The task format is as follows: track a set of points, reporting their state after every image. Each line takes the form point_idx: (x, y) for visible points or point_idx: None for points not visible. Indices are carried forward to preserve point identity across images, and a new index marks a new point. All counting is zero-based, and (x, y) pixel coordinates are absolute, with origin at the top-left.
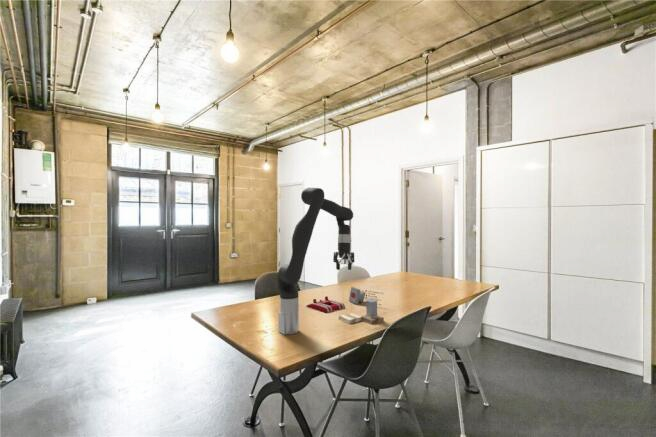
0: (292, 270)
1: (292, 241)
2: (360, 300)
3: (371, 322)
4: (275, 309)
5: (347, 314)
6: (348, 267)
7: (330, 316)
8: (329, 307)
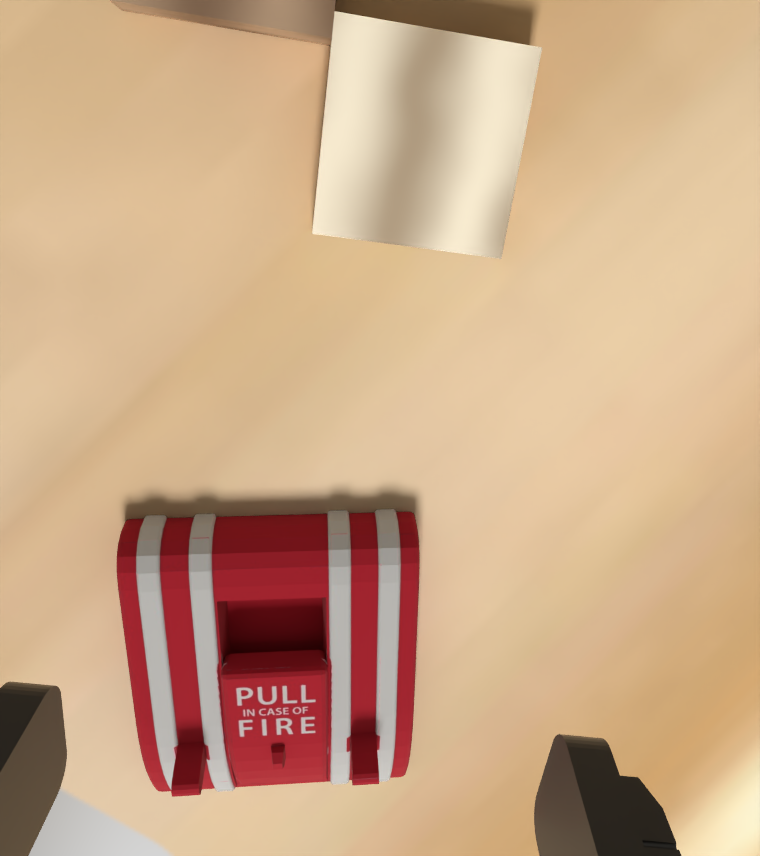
0: None
1: None
2: None
3: None
4: None
5: (385, 228)
6: (27, 821)
7: (469, 397)
8: (350, 552)
